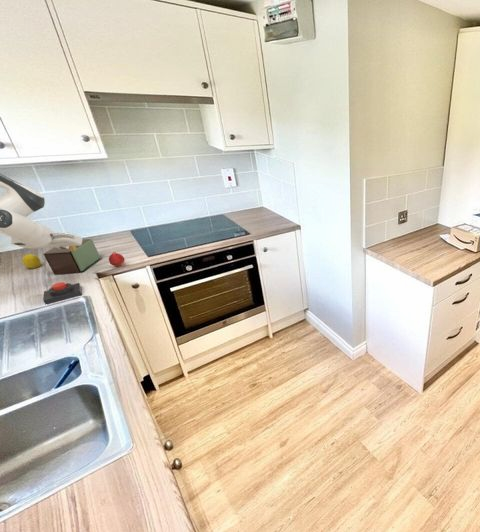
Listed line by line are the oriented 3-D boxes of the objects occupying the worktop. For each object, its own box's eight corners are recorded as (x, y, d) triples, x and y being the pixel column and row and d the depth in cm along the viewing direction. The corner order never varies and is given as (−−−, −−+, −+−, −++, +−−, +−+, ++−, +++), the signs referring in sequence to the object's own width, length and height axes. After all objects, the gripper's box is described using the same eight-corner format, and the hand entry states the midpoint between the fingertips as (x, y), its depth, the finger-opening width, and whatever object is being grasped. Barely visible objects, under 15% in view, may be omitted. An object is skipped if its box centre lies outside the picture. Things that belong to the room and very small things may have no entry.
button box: (45, 305, 129) (40, 296, 127) (46, 295, 135) (41, 287, 133) (82, 295, 135) (78, 287, 134) (81, 287, 141) (77, 279, 139)
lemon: (31, 267, 156) (22, 252, 152) (46, 265, 158) (38, 250, 154) (25, 272, 152) (16, 257, 148) (40, 270, 153) (32, 255, 150)
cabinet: (82, 272, 152) (72, 251, 147) (54, 274, 150) (43, 253, 145) (102, 258, 166) (93, 238, 161) (76, 260, 164) (66, 240, 159)
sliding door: (84, 271, 153) (69, 241, 146) (80, 271, 152) (65, 241, 145) (102, 257, 166) (89, 229, 159) (99, 257, 165) (86, 229, 158)
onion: (112, 270, 155) (105, 255, 152) (111, 266, 159) (105, 251, 155) (127, 266, 159) (121, 252, 155) (126, 262, 162) (120, 248, 159)
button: (53, 291, 131) (51, 288, 130) (53, 288, 133) (51, 284, 133) (66, 288, 133) (65, 284, 132) (66, 284, 136) (65, 281, 135)
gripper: (68, 226, 134) (93, 239, 147) (9, 229, 130) (39, 242, 143) (66, 240, 132) (91, 252, 145) (5, 244, 128) (36, 255, 141)
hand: (65, 247), depth 144 cm, fingers closed
